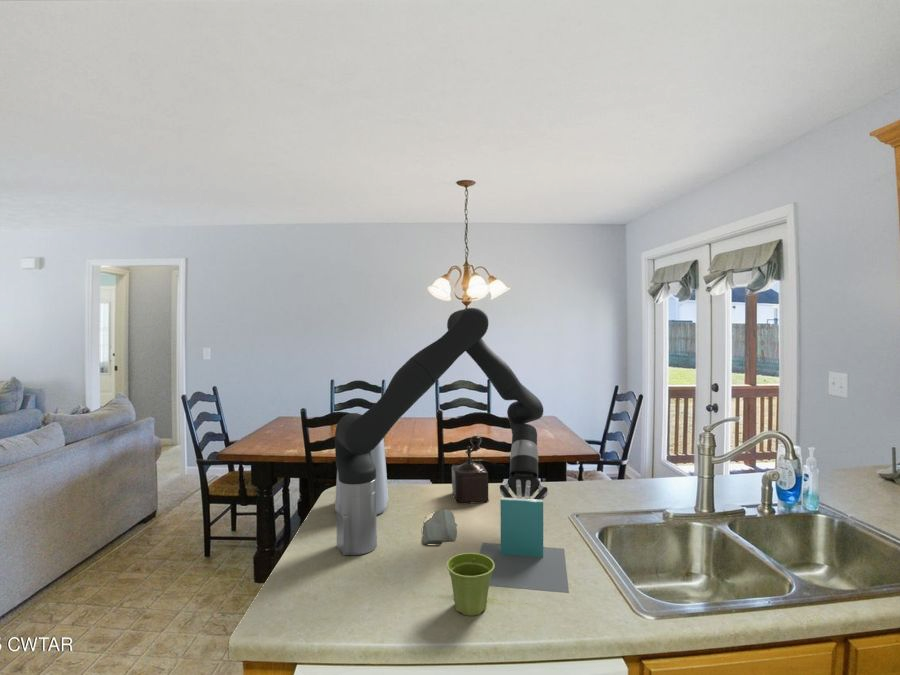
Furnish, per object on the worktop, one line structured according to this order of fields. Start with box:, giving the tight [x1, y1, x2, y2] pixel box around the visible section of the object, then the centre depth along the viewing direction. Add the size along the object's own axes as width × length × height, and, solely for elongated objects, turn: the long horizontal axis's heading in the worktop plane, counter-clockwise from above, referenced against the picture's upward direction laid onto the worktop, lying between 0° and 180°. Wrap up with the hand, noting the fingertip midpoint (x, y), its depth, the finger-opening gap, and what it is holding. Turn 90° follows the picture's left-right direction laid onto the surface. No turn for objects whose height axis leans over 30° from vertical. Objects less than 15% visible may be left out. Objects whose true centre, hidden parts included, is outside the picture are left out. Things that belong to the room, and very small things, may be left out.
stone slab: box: [422, 508, 458, 545], centre depth 135 cm, size 22×3×10 cm
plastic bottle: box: [334, 437, 389, 516], centre depth 149 cm, size 15×15×28 cm
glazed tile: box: [499, 496, 544, 557], centre depth 117 cm, size 2×10×13 cm, turn 80°
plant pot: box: [446, 552, 495, 617], centre depth 96 cm, size 9×9×9 cm
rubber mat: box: [479, 542, 570, 594], centre depth 111 cm, size 20×20×1 cm
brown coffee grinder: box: [451, 435, 490, 504], centre depth 160 cm, size 16×11×18 cm
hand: (522, 523), depth 122 cm, fingers closed
